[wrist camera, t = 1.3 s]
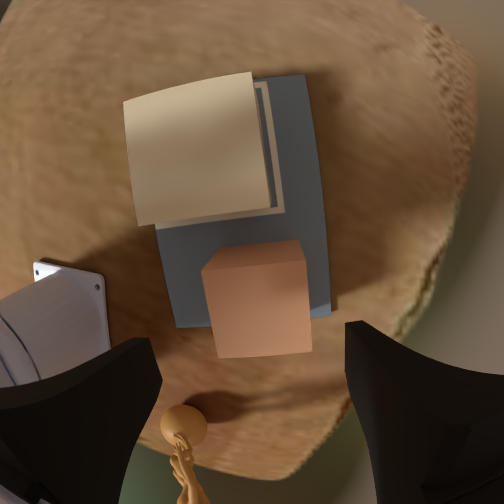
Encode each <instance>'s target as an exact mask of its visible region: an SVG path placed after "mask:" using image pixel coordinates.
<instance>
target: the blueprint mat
mask: <svg viewBox="0 0 504 504" xmlns="http://www.w3.org/2000/svg"><path fill="white" fill-rule="evenodd" d="M253 82H254V85H255V89H256V93H257V100H258V107H259V113H260V120H261V127H262V134H263V141H264V148H265V156H266V163H267V170H268V178H269V186H270V193H271V201H272V202H271V206H270V208H264V209H256V210H248V211H240V212H232V213H225V214H217V215H210V216H203V217H196V218H189V219H182V220H176V221H169V222H163V223H157V224H155V229H156V235H157V240H158V246H159V251H160V256H161V261H162V266H163V271H164V275H165V280H166V285H167V289H168V294H169V298H170V302H171V306H172V311H173V315H174V319H175V323H176V327H177V328H188V327H209V326H212V325H211V320H210V315H209V310H208V305H207V300H206V295H205V290H204V285H203V280H202V274H201V270H202V269H203V268H204V267H205V265H206V264H207V263H208V262H209V261H210V259H211V258H212V257H213V256H214V255H215V253H216V252H217V251H218V250H219V249H220V248H224V247H233V246H242V245H251V244H260V243H268V242H277V241H286V240H295V239H299V242H300V245H301V248H302V250H303V253H304V256H305V259H306V268H307V280H308V292H309V306H310V318H314V317H323V316H331V294H330V275H329V260H328V246H327V233H326V222H325V212H324V202H323V192H322V184H321V175H320V167H319V159H318V152H317V145H316V138H315V131H314V125H313V119H312V112H311V106H310V101H309V95H308V89H307V84H306V79H305V74H301V75H288V76H278V77H269V78H261V79H254V80H253Z"/></svg>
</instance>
